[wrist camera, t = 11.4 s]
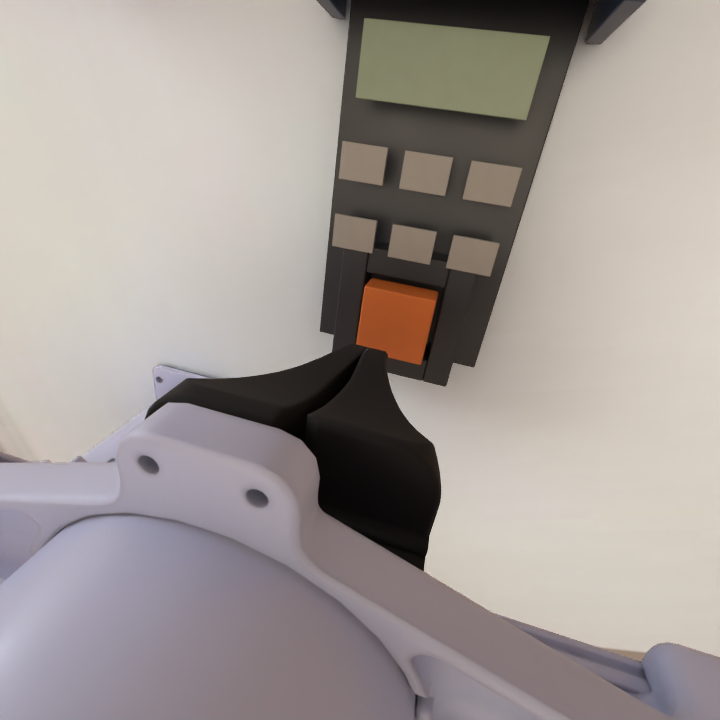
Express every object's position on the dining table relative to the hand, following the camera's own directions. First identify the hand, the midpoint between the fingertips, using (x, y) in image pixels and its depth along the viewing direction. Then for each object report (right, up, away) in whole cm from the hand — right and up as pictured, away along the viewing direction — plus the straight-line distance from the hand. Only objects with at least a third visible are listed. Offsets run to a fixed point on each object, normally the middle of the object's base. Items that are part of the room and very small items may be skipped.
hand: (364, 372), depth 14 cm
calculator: (+3, +8, +5) cm, 10 cm away
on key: (+2, +3, +5) cm, 6 cm away
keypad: (+3, +8, +2) cm, 9 cm away
